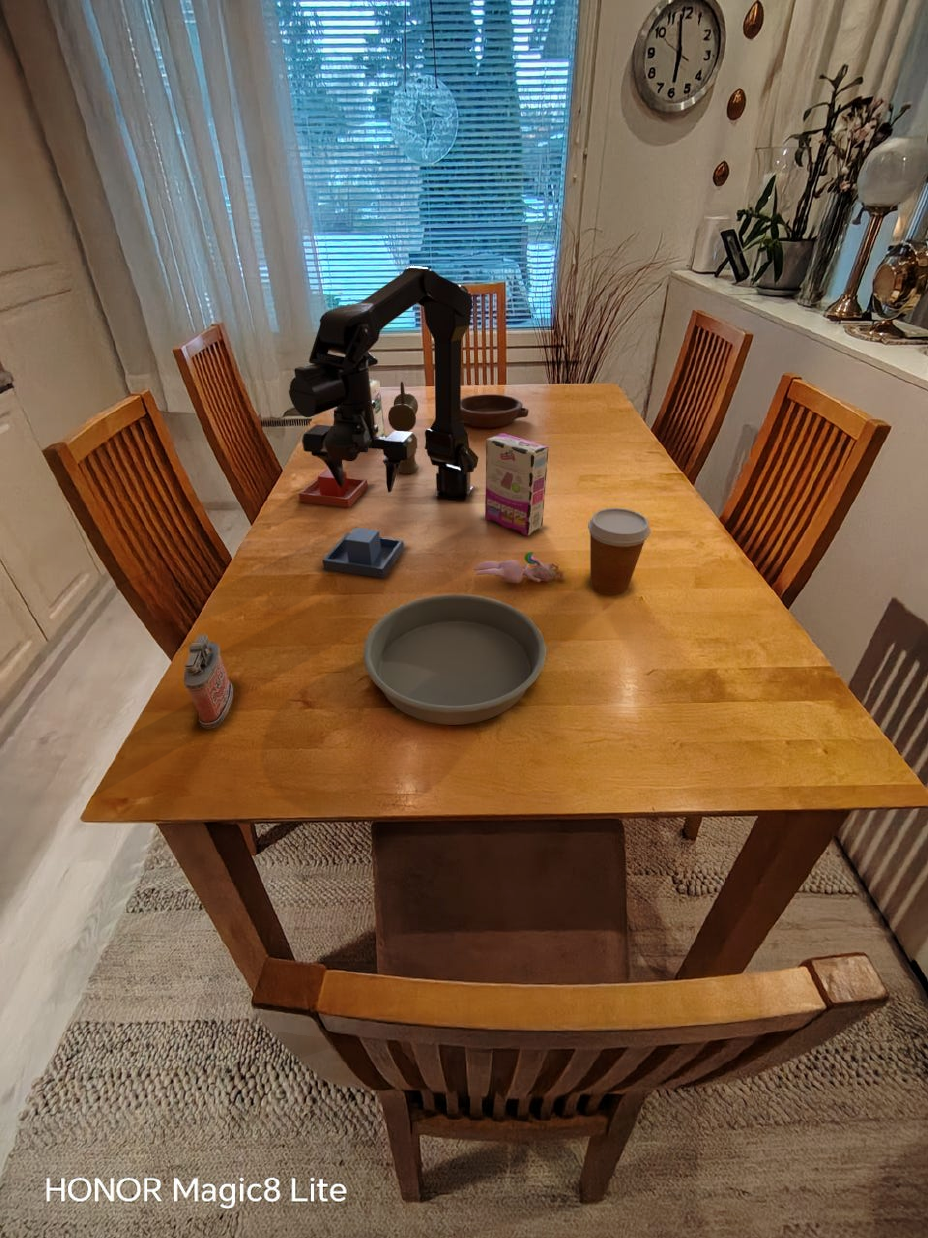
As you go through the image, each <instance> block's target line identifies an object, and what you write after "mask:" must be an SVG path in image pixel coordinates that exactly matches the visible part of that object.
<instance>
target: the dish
mask: <svg viewBox="0 0 928 1238" xmlns="http://www.w3.org/2000/svg"><path fill="white" fill-rule="evenodd" d="M523 406H524V404H523V402H522V401H521V400H519V399H517V398H515V397H512V396H509V395H504V394H496V393H494V394H493V393H492V394H491V393H489V394H487V393H486V394H485V393H484V394H474V395H469V396H465V397H461V421H462V422H463V423H465V424H467V425H469V426H472V427H476V428H484V429H485V428H486V429H487V428H489V429H490V428H492V429H493V428H499V427H504V426H507V425H509V424H511V423H513V422H514V421H515V420H518V419H521V418H527V417H528V416H529V412H530V411H529V409H528V408H527V407H523Z"/></svg>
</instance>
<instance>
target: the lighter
mask: <svg viewBox="0 0 928 1238" xmlns="http://www.w3.org/2000/svg"><path fill="white" fill-rule="evenodd" d="M184 668H185V670H184V674H183V684H184V687H185V688H186V689H187V690H188V692H189V694H190V696H191V699H192V701H193V704H194V707H195V710H196V711H197V713H198V716H199V717H198V721H199V723H200V725H201V727H202V728H204V729H208V730H209V729H214V728H217V727H219V726H220V725H221V724H222V723H223V721H224V720H225V718H226V716H227V715H228V712H229V710H230V708H231V705H232V702H233V697H234V687H233V684H232V682H231V681H230V680H229V677H228V674H227V671H226V668H225V665H224V662H223V659H222V656H221V649H220V646H219V644H218V642H215V641H210V639H209V637H208V635H206V634H200V635H197V637H196V639H195V641H194V642H193V643H190V645H189V655H188V657H187V660H186V661H185V664H184Z"/></svg>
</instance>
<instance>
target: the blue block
mask: <svg viewBox="0 0 928 1238" xmlns="http://www.w3.org/2000/svg"><path fill="white" fill-rule="evenodd" d="M349 533H350V534H349V536H348V537H347V538H346V539H345V543H346V549H347V556H348V562H354V563H361V564H368V565H372V564H373V563H374V561H375V560H376V559H377V557H378V556H379V555H380V553H381V545H380V537H381V536H380V530H377V529H371V528H362V527H355V528H353V530H352V531H351V532H349Z"/></svg>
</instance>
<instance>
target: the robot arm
mask: <svg viewBox="0 0 928 1238" xmlns="http://www.w3.org/2000/svg"><path fill="white" fill-rule="evenodd" d="M472 296H473V295H472V294H471V292H469V290H468V288H467V287H466V286H465V285H460V284H457V283H455V282H453V281H451V280H449V279H447V278H445V277H444V276H442V275H440V274H438V273H437V272H436V271H435V270H433V269H432V268H430V267H425V266H424V267H423V266H414V265H413V266H412V265H411V266H408V267H406V268H405V269H404V270H403V271H402V273H401V274H399V275H398V276H396V277H394V279H392V280H390V281H389V282H388V283H386V284H385V285H383V286H382V287H380V288H379V289H377V290H376V291H374V292H373V293H372V294H370V295H369V296H367V297H366V298H364V299H363V300H361V301H359V302H356V303H351V304H346V305H341V306H337V307H335V308H333V309H329V310H327V311H326V312H325V313H323V314H322V315H321V317H320V318H319V327H318V330H317V334H316V336H315V340H314V343H313V346H312V348H311V352H310V355H309V358H308V362H309V363H310V365H306V366H299V367H295V368H294V370H293V372H294V377H293V378H292V379H291V381H290V384H289V389H288V396H289V399H290V401H291V404H292V406H293V407H294V409H295V410H296V411H297V413H298V414H300V416H303V417H304V418H312V417H314V416H318V415H319V414H320V415H321V414H322V413H325V412H328V411H331V410H333V424H332V425H329V424H328V425H327V424H326V425H325V424H315V425H313V426H312V427H311V428H310V429H308V430H307V431H306V432H305V433H303V435H302V438H301V444H302V449H303V451H304V452H307V453H310V455H311V456H312V457H317V458H318V459H320V460H322V461H323V462H324V464H325V465H326V467H327V468H329V470H330V471H331V473H332V475H333V477H334V478H335V480H336V482H337V484H338V485H339V487H343V486H344V473H343V470H344V464H343V461H346V462H349V463H350V462H354V461H356V460H357V459H358V456H359V455H360V453H364V454H367V453H368V452H369V450H370V449H372V450H374V449H375V450H382V454H383V456H384V458H383V460H382V463H383V465H384V467H385V481H386V489H387V493H391V492H392V491H393V489H394V485H395V482H396V479H397V475H398V472H399V471H398V469H399V466H400V463H402V461H403V460H408V458H409V457H410V456H411V455H412V454H413V452H414V451H415V450H416V451H417V449H418V438H417V436H416V435H415V434H414V432H411V431H409V432H401V431H396V430H393V431H392V432H391V433H390V434H389V435H387V436H385V437H376V433H377V432H378V426H376V425H375V423H374V414H373V409H374V408H375V407H376V404H375V401H372V396H371V387H370V380H371V379H370V370H369V368H371V367H373V366H377V365H378V364H379V359H377V358H376V357H375V356H373V355H372V354H371V353H370V352H369V351H370V350H371V349H373V347H374V346H375V345H376V343H378V341H379V338H380V334H381V331H382V330H383V329H384V328H385V327H387V326H388V325H389V324H390V323H391V322H393V321H394V320H396V319H397V318H399V317H400V316H401V315H403V314H404V313H405V312H407V311H408V310H409V309H411V308H412V307H413V306H415V305H416V304H417V305H418V306H420V307H421V308H422V309H423V314H424V321H425V325H426V327H427V329H428V330H429V333H430V335H431V337H432V339H433V350H434V351H433V352H434V353H433V354H434V359H433V360H434V408H435V409H434V411H435V412H434V421H433V422H432V424H431V426H430V427H429V428H426V429H425V430H424V437H425V445H424V450H426V454H427V457H429V461H430V462H431V465H432V466H434V467H435V466H436V467H437V472H436V473H435V483H436V485H435V486H436V488H435V489H436V492H437V494H436V495H435V496H436V498H437V499H445V500H451V501H452V500H453V501H461V502H464V501H466V500H468V497H469V496H470V494H471V493H472V491H473V489H474V488H473V486H472V485H471V473H473V472H475V469H476V468H477V467H478V464H479V463H478V462H479V456H478V455H477V453H476V452H474V451H473V449H472V448H471V446H470V440H469V432H468V431H467V429H466V427H465V425H464V422H463V421H462V420H461V399H462V339H463V338H464V336H465V335H466V333H467V331H468V328H469V327H470V326H471V319H472V308H473V297H472ZM329 352H331V353H329ZM332 353H336V354H332ZM337 354H340V355H337ZM342 355H344V356H342Z"/></svg>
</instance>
